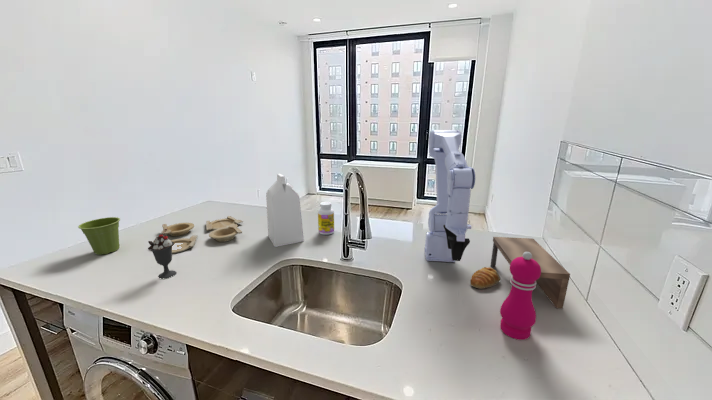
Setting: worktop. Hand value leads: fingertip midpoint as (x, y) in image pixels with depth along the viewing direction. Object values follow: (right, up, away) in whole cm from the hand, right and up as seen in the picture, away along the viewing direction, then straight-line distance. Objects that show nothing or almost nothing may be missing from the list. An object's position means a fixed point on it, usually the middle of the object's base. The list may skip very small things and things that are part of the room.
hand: (453, 254), depth 90 cm
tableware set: (-93, +1, +37) cm, 100 cm away
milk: (-57, 0, +33) cm, 66 cm away
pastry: (+9, -9, +1) cm, 13 cm away
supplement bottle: (-41, +2, +39) cm, 57 cm away
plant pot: (-121, -3, +23) cm, 124 cm away
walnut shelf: (+20, -9, 0) cm, 22 cm away
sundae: (-88, -8, +6) cm, 89 cm away
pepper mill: (+8, -15, -19) cm, 25 cm away
